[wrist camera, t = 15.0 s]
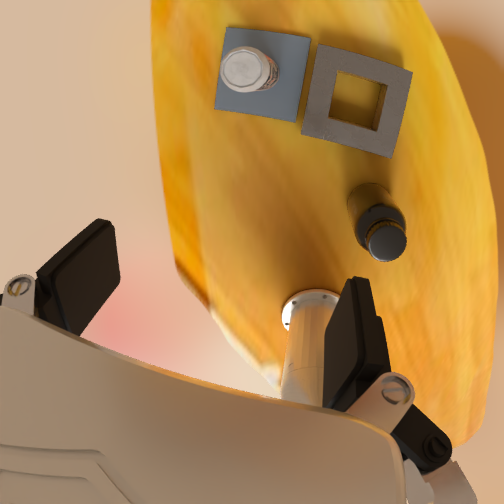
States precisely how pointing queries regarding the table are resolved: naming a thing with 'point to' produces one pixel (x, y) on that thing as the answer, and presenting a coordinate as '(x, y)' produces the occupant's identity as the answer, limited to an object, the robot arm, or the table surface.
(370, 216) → the supplement bottle
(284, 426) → the robot arm
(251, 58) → the beer can
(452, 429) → the table surface
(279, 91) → the mat
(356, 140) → the gray square frame
